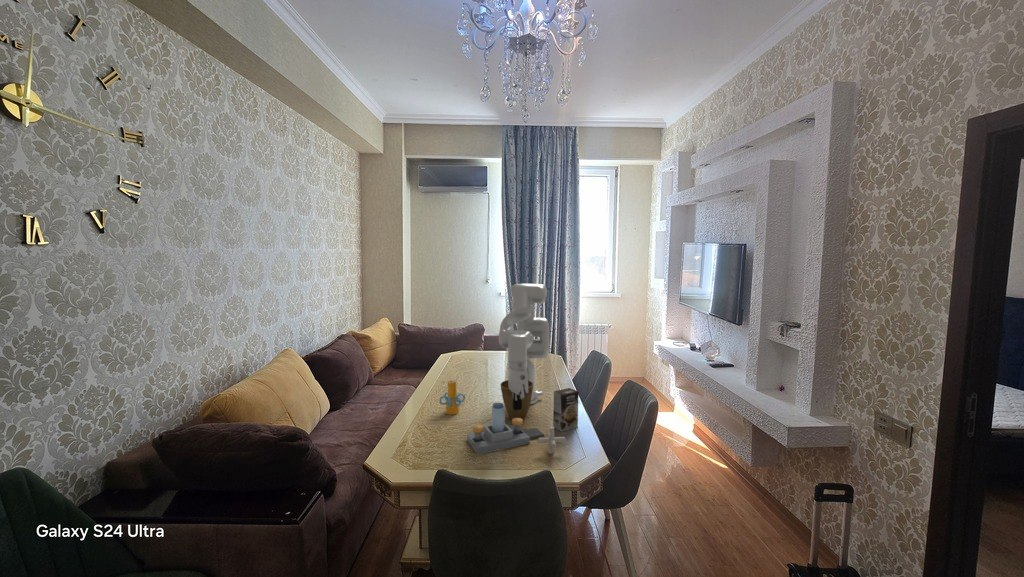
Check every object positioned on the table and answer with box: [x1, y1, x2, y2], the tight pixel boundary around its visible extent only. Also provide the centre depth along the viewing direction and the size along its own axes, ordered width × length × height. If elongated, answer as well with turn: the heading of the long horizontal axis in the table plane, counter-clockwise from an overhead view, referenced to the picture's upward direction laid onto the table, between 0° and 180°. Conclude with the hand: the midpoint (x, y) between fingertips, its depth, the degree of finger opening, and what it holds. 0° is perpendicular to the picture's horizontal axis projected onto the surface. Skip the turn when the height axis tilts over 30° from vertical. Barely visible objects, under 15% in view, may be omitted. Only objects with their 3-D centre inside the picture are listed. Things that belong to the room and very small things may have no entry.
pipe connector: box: [537, 426, 566, 455], centre depth 166 cm, size 10×10×10 cm
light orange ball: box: [511, 418, 524, 432], centre depth 178 cm, size 4×4×4 cm
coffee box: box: [552, 387, 579, 432], centre depth 189 cm, size 9×6×16 cm
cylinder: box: [439, 379, 466, 416], centre depth 205 cm, size 12×10×15 cm
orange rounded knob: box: [471, 424, 485, 439], centre depth 171 cm, size 4×4×4 cm
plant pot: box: [500, 379, 533, 421], centre depth 199 cm, size 15×15×16 cm
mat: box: [521, 427, 545, 440], centre depth 182 cm, size 7×7×1 cm
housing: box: [466, 422, 531, 455], centre depth 175 cm, size 22×13×6 cm, turn 114°
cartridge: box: [491, 402, 505, 433], centre depth 175 cm, size 5×5×13 cm
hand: (517, 409), depth 177 cm, fingers closed
